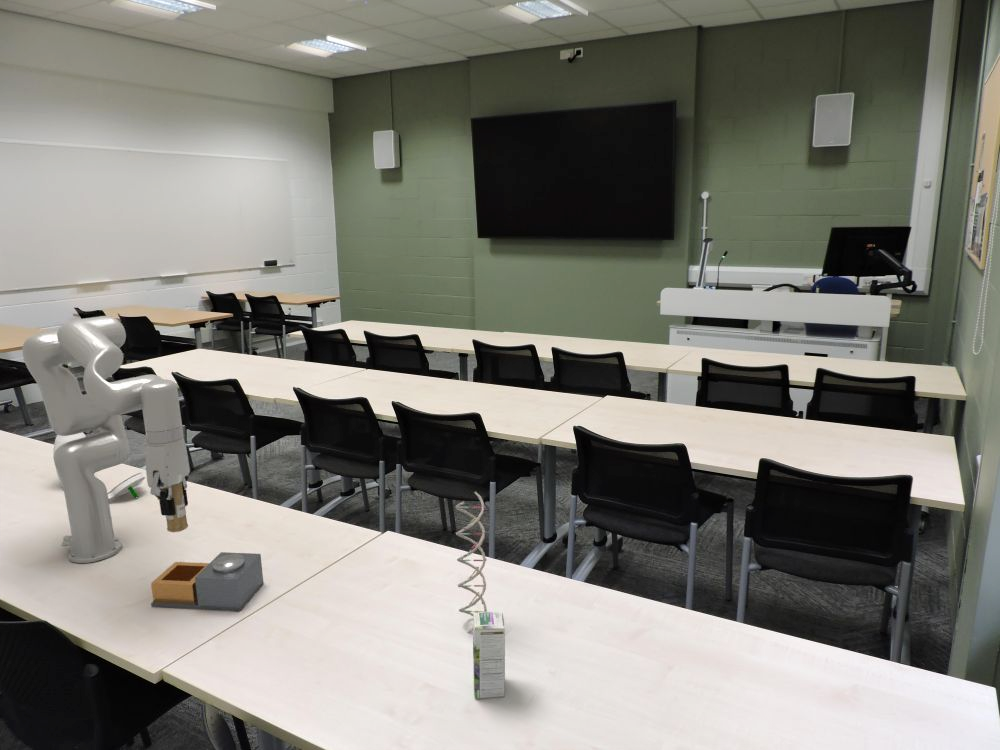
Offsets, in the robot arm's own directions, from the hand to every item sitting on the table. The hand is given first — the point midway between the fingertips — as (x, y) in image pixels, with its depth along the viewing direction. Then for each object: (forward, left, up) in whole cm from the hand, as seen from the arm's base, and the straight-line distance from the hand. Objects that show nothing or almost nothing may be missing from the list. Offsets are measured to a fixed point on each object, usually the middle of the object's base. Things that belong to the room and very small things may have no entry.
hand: (174, 509), depth 161 cm
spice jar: (0, 0, -5) cm, 5 cm away
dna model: (+70, -7, -22) cm, 74 cm away
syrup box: (+76, -27, -22) cm, 84 cm away
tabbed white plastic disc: (-50, +54, -22) cm, 77 cm away
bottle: (-74, +62, -22) cm, 99 cm away
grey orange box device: (+6, +1, -22) cm, 22 cm away
